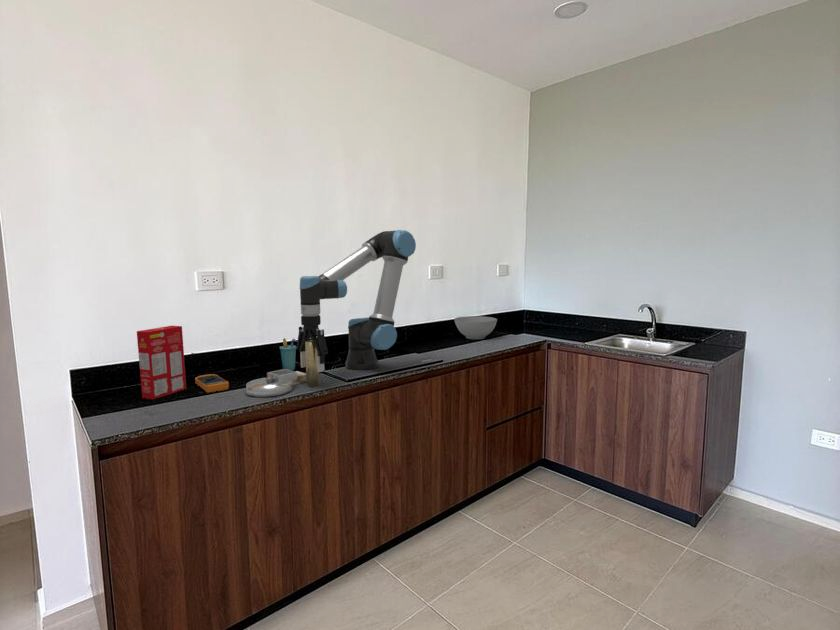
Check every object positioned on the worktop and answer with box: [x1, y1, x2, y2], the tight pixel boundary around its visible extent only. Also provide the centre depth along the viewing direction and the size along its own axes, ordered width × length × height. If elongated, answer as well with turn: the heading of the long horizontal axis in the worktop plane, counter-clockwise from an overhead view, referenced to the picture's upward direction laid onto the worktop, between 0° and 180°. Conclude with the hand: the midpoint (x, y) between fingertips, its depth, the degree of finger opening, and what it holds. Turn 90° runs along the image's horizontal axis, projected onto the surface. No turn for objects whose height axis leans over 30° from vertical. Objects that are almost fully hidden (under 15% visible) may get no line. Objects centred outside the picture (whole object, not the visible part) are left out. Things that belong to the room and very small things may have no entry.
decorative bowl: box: [453, 315, 498, 340], centre depth 291 cm, size 27×27×12 cm
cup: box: [279, 337, 298, 371], centre depth 210 cm, size 14×8×15 cm, turn 48°
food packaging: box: [136, 325, 187, 401], centre depth 173 cm, size 15×5×25 cm, turn 159°
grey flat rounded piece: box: [245, 368, 297, 398], centre depth 178 cm, size 18×17×6 cm
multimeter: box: [194, 373, 230, 394], centre depth 184 cm, size 9×18×3 cm, turn 40°
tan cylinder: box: [305, 339, 320, 388], centre depth 185 cm, size 5×5×18 cm
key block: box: [292, 370, 307, 386], centre depth 191 cm, size 8×8×3 cm
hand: (312, 369), depth 185 cm, fingers open, 11 cm apart
